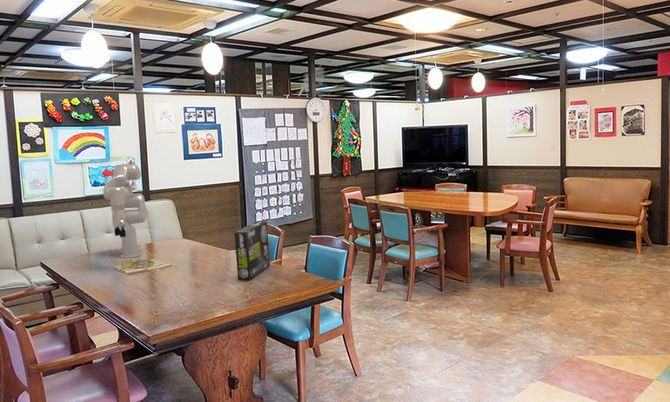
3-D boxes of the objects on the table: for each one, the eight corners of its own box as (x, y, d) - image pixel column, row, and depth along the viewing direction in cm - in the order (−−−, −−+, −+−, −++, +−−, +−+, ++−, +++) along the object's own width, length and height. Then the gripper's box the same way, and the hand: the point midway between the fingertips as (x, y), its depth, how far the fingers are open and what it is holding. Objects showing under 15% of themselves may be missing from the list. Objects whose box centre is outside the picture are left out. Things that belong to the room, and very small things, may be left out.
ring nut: (118, 267, 320) (117, 259, 320) (149, 261, 333) (148, 254, 332) (126, 270, 310) (125, 262, 309) (158, 264, 322) (157, 257, 322)
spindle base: (113, 268, 324) (112, 262, 324) (154, 260, 341) (154, 255, 341) (128, 275, 305) (128, 268, 304) (171, 266, 322) (171, 260, 321)
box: (250, 280, 280) (247, 231, 278) (237, 280, 282) (233, 231, 279) (270, 266, 313) (267, 221, 310) (258, 265, 315) (255, 221, 312)
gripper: (107, 208, 322) (109, 235, 324) (116, 209, 309) (118, 238, 310) (119, 206, 327) (122, 234, 328) (129, 208, 314) (131, 236, 315)
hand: (120, 236), depth 319 cm, fingers open, 9 cm apart
